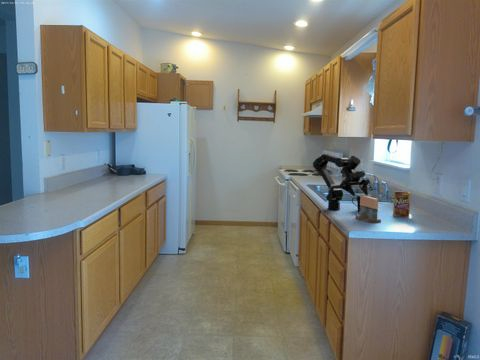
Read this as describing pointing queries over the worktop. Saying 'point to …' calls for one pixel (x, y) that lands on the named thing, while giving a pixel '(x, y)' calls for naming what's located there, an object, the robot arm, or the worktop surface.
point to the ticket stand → (368, 214)
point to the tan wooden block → (369, 202)
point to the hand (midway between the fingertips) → (360, 195)
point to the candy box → (401, 204)
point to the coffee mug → (359, 200)
